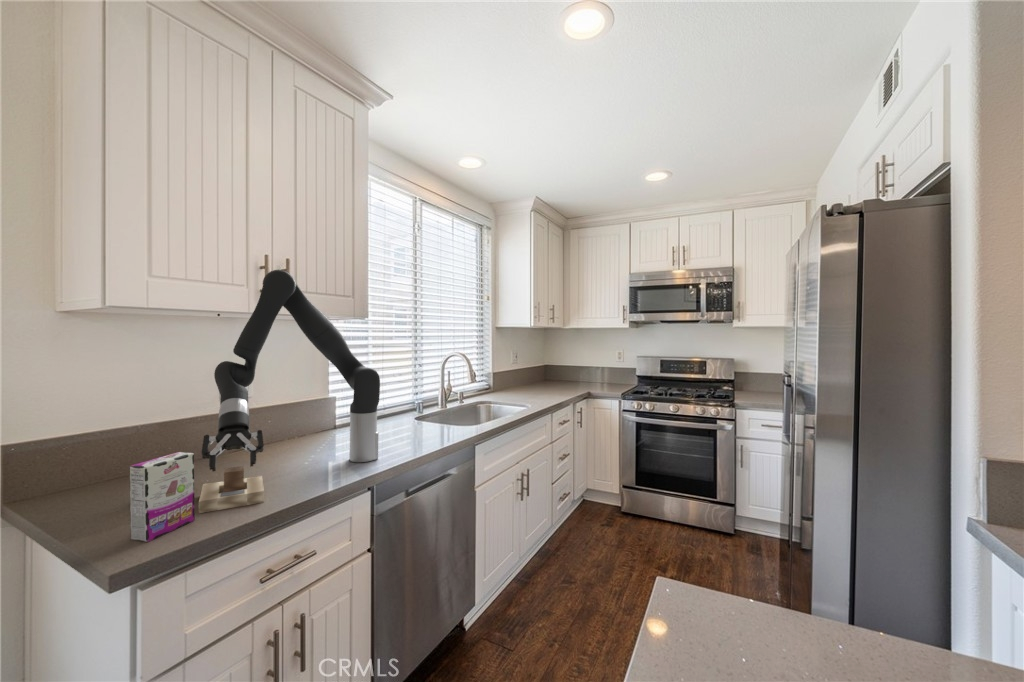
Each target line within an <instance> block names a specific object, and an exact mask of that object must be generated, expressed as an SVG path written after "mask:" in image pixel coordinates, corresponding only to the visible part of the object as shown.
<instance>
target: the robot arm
mask: <svg viewBox="0 0 1024 682" xmlns="http://www.w3.org/2000/svg"><path fill="white" fill-rule="evenodd" d="M282 308H284V309H286V311H287V312H288V313H289V314H290V315H291V316H292V318H293V320H294V322H296V325H297V326H298V327H299V328H300V330H301V331H302V333H303V334H304V335H305V337H306V338H307V339H308V340H309V342H310V343H311V344H312V345H313V346H314V347H315V348H316V349H317V350H318V351H319V352H320V354H322V356H324V357H325V358H326V359H327V361H329V362H330V363H331V364H332V365H333V366H334V367H335V368H336V369H337V371H338V372H339V373H340V375H342V377H343V379H344V380H345V382H346V383H347V384H348V386H349V387H350V388H351V389H352V390H353V400H352V402H351V404H350V406H349V455H348V456H349V461H350V462H353V463H368V462H372V461H375V460H379V432H378V406H379V403H380V394H381V380H380V379H381V378H380V374H379V373H378V371H377V370H375V369H374V368H372V367H368V366H367V367H366V366H365V365H364V364H363V363H362V362H361V361H359V359H357V358H356V356H354V354H353V352H352V351H351V350H350V347H349V346H348V344H347V342H346V340H345V337H344V336H343V334H342V333H341V331H340V330H339V329H338V328H337V327H336V326H335V325H334V323H333V322H332V321H331V320H330V319H329V318H328V317H327V316H326V315H325V314H324V313H323V312H322V311H321V310H320V309H319V308H318V307H317V306H315V305H314V304H313V303H312V302H311V300H309V299H308V297H307V296H306V295H305V293H304V292H303V290H302V289H301V288H300V287H299V284H297V282H296V280H295V278H294V277H293V275H292V274H291V273H289V272H288V271H286V270H283V269H274V270H273V269H272V270H271V271H269V272H267V274H265V276H264V277H263V280H262V287H261V291H260V295H259V298H258V301H257V304H256V306H255V308H254V310H253V312H252V314H251V315H250V317H249V319H248V321H247V322H246V323H245V325H244V328H243V329H242V331H241V333H240V335H239V337H238V339H237V341H236V343H235V344H234V346H233V347H234V348H233V351H232V352H233V354H234V355H235V356H237V357H239V358H242V359H243V360H244V361H245V362H244V364H241V363H237V362H234V361H230V360H225V361H221V362H220V363H219V364H217V365H216V366H215V370H214V373H213V376H214V381H215V383H216V387H217V389H218V392H219V394H220V400H219V401H220V402H219V403H220V404H219V410H218V419H217V420H218V423H217V428H218V429H217V434H216V435H212V436H211V435H209V434H205V435H203V441H202V447H201V458H202V459H209V460H208V461H209V462H208V464H209V465H208V466H209V470H211V471H212V472H216V471H217V470H216V469H217V467H216V466H217V457H218V456H219V455H221V454H222V453H223V452H224V451H225V450H226V451H231V450H241V449H243V450H245V451H246V452H248V453H249V456H250V458H249V460H250V461H249V466H250V468H251V467H254V465H256V463H257V454H258V453H263V452H264V439H263V437H264V436H263V431H262V429H258V430H257V431H255V432H251V431H250V430H251V429H250V406H249V391H248V389H247V387H249V386H251V384H253V381H254V380H255V374H256V369H257V368H256V367H257V363H258V358H259V356H260V353H261V351H262V349H263V346H265V343H266V341H267V338H268V337H269V334H270V332H271V330H272V327H273V324H274V322H275V320H276V318H277V316H278V314H279V313H280V311H281V309H282ZM252 438H253V439H254V440H255V441H257V446H255V445H254V444H253V443H252V442H251V439H252ZM214 442H216V443H217V444H216V445H215V447H214V448H213V449H212V450H210V451H209V449H210V446H211V445H212V444H213V443H214Z"/></svg>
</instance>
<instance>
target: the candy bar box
mask: <svg viewBox="0 0 1024 682" xmlns="http://www.w3.org/2000/svg"><path fill="white" fill-rule="evenodd" d="M129 501H130V502H129V503H130V506H129V508H130V509H129V510H130V540H132V541H135V542H136V541H137V542H145V543H146V542H147V543H148V542H151V541H153V540H155V539H157V538H159V537H162V536H164V535H166V534H169V533H170V532H172V531H175V530H178V529H179V528H181V527H184V526H185V525H187V524H191V523H192V522H194V521H195V520H196V516H195V515H196V514H195V513H196V512H195V504H196V503H195V453H193V452H187V451H184V452H183V451H177V452H174V453H171V454H167V455H163V456H160V457H156V458H153V459H149V460H146V461H141V462H140V463H139V462H138V463H135V464H133V465H129Z"/></svg>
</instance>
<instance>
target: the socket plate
mask: <svg viewBox="0 0 1024 682" xmlns="http://www.w3.org/2000/svg"><path fill="white" fill-rule="evenodd" d="M264 502H265V487H264V480H263V475H258V476H251V477H244V490H238V491H231V492H225V493H224V480H223V481H216V482H209V483H203V484H202V488H201V492H200V495H199V500H198V513H199V514H202V513H208V512H215V511H221V510H227V509H231V508H236V507H244V506H249V505H254V504H261V503H264Z"/></svg>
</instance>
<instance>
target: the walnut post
mask: <svg viewBox="0 0 1024 682" xmlns="http://www.w3.org/2000/svg"><path fill="white" fill-rule="evenodd" d="M244 475H245V469H244V465H240V466H239V465H238V466H232V467H231V466H230V467H225V468H224V469H223V481H224V493H225V492H231V491H238V490H244V478H245V477H244Z"/></svg>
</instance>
